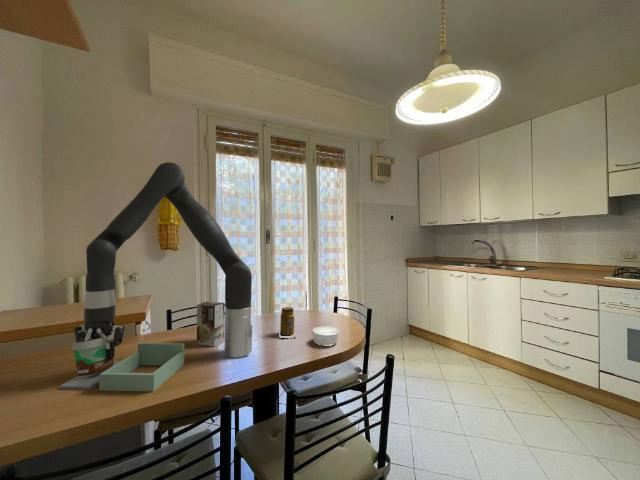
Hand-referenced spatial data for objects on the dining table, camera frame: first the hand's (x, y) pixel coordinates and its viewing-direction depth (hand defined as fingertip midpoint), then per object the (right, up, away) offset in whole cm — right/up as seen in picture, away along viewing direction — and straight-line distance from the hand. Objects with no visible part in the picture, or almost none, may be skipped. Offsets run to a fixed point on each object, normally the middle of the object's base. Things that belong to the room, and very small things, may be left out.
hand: (99, 359), depth 85 cm
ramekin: (+70, -6, +30) cm, 76 cm away
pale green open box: (+14, -5, 0) cm, 15 cm away
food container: (+1, -3, 0) cm, 3 cm away
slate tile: (0, -5, 0) cm, 5 cm away
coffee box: (+23, -6, +28) cm, 37 cm away
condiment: (+53, -6, +38) cm, 66 cm away
